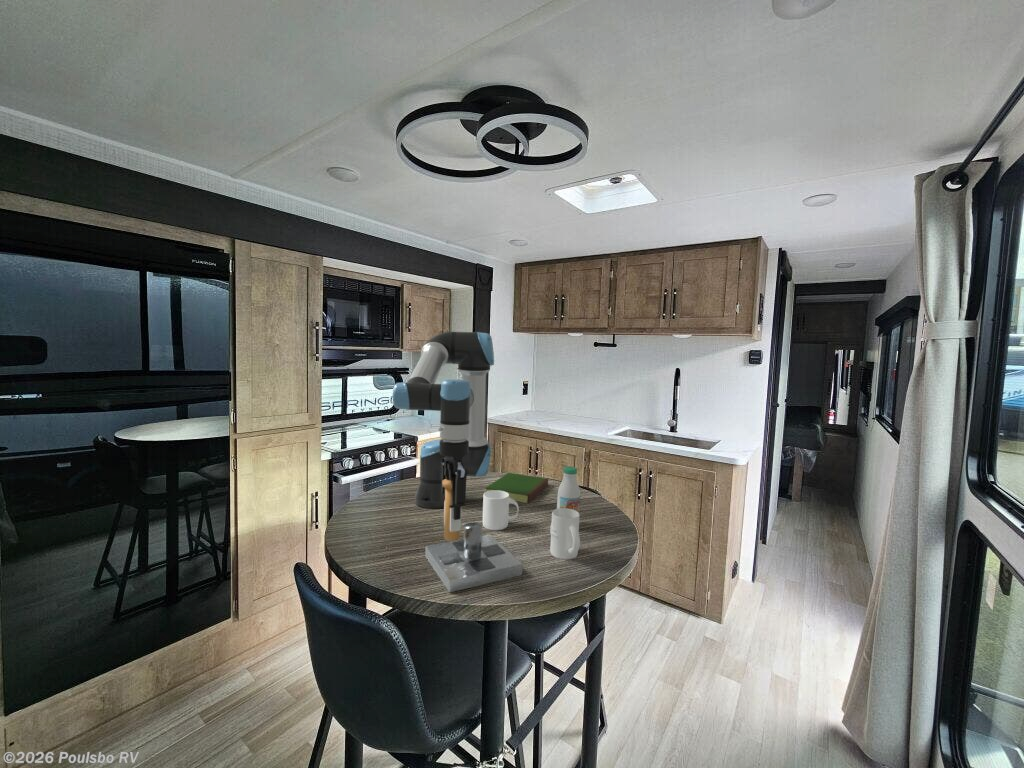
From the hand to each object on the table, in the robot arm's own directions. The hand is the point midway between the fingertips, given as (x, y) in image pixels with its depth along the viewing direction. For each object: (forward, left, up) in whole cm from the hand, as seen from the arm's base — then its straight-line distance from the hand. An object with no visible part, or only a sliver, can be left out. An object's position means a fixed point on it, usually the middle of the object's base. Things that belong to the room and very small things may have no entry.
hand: (452, 527), depth 114 cm
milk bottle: (-12, +46, -12) cm, 49 cm away
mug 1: (-21, +25, -12) cm, 35 cm away
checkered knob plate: (0, +6, -12) cm, 13 cm away
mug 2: (+6, +33, -12) cm, 36 cm away
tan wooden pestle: (0, 0, -3) cm, 3 cm away
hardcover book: (-51, +48, -13) cm, 71 cm away
